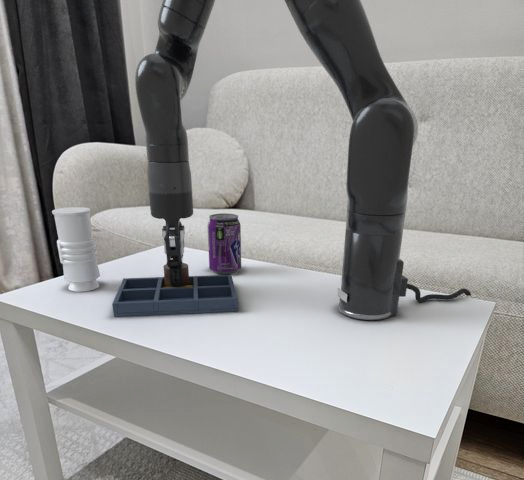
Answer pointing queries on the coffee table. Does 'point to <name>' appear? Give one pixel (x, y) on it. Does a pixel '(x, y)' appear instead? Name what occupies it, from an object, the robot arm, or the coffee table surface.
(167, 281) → the brown cylindrical piece
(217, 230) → the beverage can
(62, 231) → the white ribbed cylinder
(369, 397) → the coffee table surface
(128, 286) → the grey compartment tray
